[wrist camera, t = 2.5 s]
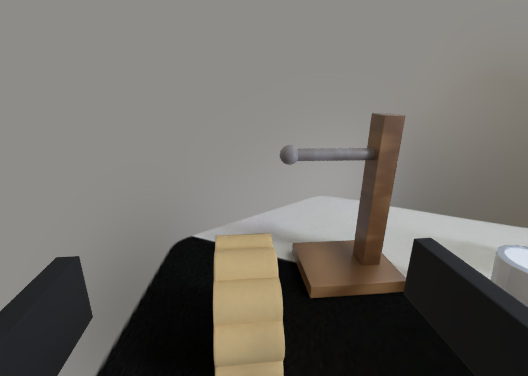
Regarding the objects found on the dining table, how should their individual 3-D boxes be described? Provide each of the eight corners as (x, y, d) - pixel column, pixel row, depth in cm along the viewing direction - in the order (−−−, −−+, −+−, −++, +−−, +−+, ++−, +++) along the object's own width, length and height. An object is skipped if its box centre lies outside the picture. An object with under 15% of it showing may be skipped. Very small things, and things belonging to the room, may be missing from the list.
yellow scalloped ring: (217, 434, 20) (210, 298, 16) (221, 312, 31) (217, 213, 27) (280, 426, 20) (288, 293, 17) (262, 309, 31) (264, 212, 28)
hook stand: (282, 300, 33) (290, 117, 26) (270, 253, 42) (274, 110, 35) (405, 291, 35) (443, 118, 28) (367, 248, 44) (389, 111, 37)
